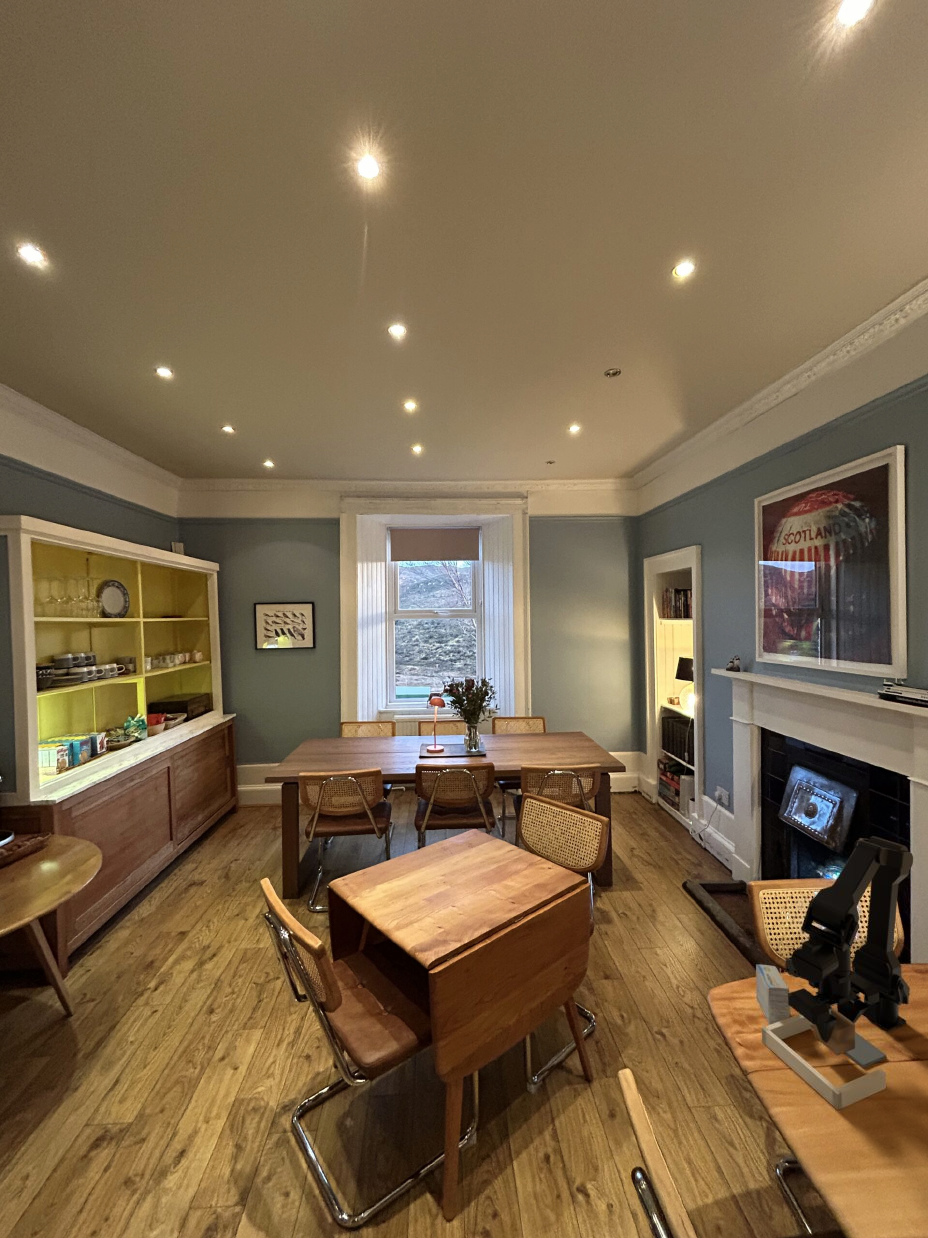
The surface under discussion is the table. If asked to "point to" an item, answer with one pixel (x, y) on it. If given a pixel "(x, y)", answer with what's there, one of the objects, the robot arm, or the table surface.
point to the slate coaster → (864, 1052)
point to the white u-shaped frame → (833, 1095)
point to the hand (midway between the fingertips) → (833, 1037)
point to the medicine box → (772, 993)
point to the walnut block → (839, 1034)
